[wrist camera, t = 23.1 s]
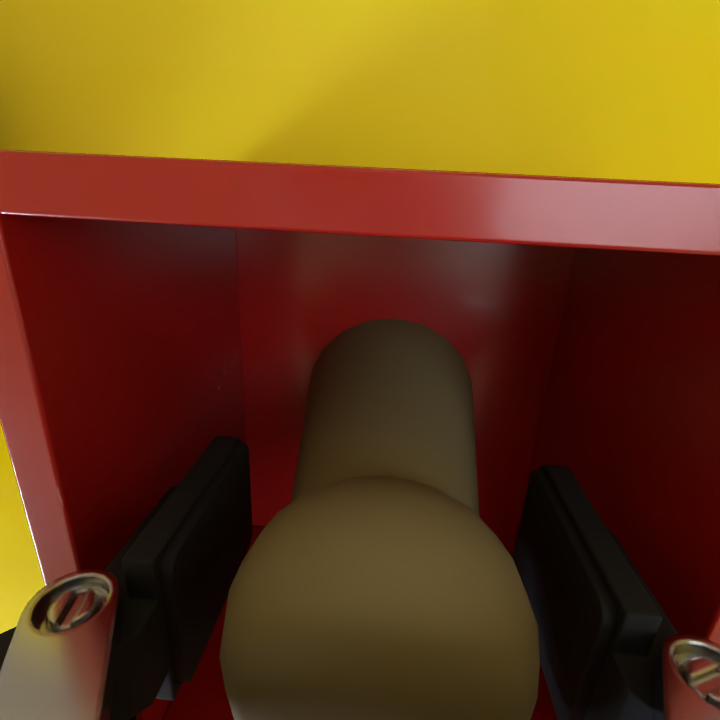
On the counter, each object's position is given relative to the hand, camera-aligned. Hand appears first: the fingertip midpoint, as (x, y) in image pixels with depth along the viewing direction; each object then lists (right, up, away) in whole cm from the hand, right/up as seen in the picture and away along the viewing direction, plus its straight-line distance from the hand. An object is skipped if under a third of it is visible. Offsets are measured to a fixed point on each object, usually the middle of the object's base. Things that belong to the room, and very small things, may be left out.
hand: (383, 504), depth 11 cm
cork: (+1, +2, +6) cm, 6 cm away
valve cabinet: (+1, +2, +6) cm, 7 cm away
